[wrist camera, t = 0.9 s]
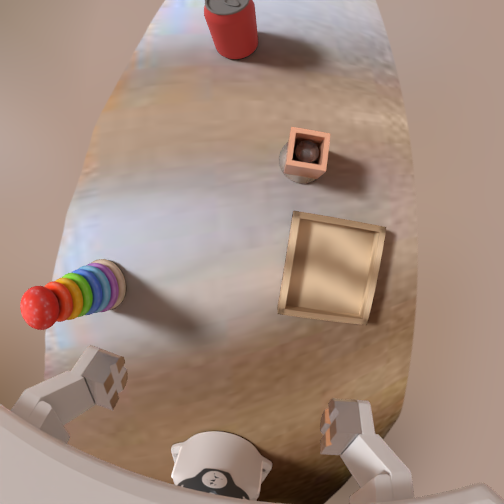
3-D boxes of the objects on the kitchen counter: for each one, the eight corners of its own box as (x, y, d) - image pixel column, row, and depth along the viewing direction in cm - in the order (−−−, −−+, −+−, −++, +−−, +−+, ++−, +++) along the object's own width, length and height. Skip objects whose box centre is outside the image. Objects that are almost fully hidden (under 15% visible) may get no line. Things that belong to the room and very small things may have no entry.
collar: (317, 179, 40) (326, 171, 33) (283, 173, 41) (286, 164, 34) (321, 147, 40) (330, 133, 33) (288, 141, 40) (291, 126, 33)
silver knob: (322, 187, 41) (330, 181, 35) (276, 179, 41) (276, 173, 35) (327, 143, 40) (335, 131, 34) (282, 135, 41) (284, 122, 35)
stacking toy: (129, 263, 44) (52, 289, 25) (126, 312, 45) (56, 359, 26) (88, 254, 44) (6, 273, 26) (86, 301, 45) (10, 338, 27)
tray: (361, 318, 43) (366, 325, 40) (277, 307, 43) (277, 313, 40) (378, 226, 41) (386, 227, 38) (292, 211, 42) (294, 210, 39)
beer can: (239, 67, 40) (228, 24, 28) (207, 48, 40) (189, 5, 28) (267, 41, 39) (264, -5, 27) (235, 23, 39) (225, -23, 27)
